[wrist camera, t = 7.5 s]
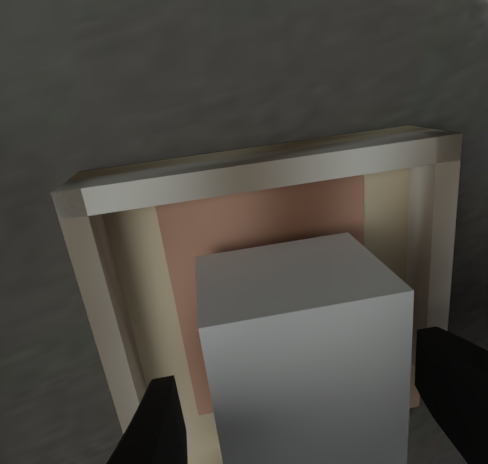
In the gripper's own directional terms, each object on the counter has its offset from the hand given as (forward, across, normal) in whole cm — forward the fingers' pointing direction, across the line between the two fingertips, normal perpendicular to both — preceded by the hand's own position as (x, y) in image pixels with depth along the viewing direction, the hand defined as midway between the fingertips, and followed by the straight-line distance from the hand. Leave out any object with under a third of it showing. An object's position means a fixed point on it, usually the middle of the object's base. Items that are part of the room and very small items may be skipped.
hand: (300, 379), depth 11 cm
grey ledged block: (+3, 0, 0) cm, 4 cm away
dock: (+5, 0, 0) cm, 5 cm away
